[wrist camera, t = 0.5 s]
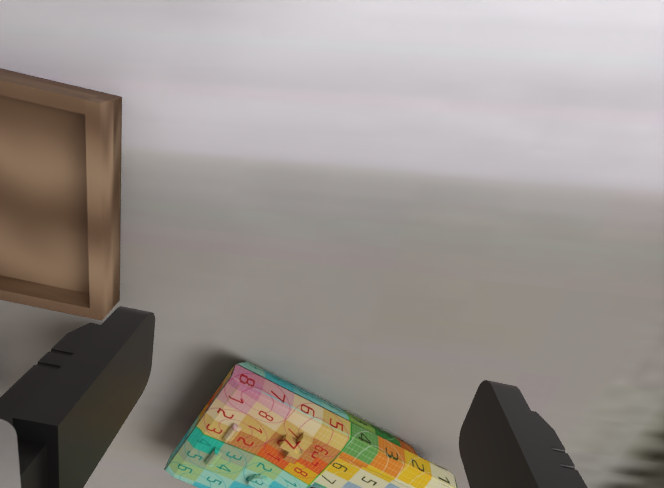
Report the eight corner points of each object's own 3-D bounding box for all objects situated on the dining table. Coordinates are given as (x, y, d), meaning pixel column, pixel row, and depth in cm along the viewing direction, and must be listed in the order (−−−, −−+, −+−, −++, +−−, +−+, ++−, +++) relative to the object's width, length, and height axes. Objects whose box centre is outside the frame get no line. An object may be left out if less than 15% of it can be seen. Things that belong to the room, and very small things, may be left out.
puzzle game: (227, 385, 30) (460, 500, 34) (242, 341, 34) (448, 448, 38) (159, 480, 34) (372, 571, 38) (181, 430, 38) (370, 517, 42)
